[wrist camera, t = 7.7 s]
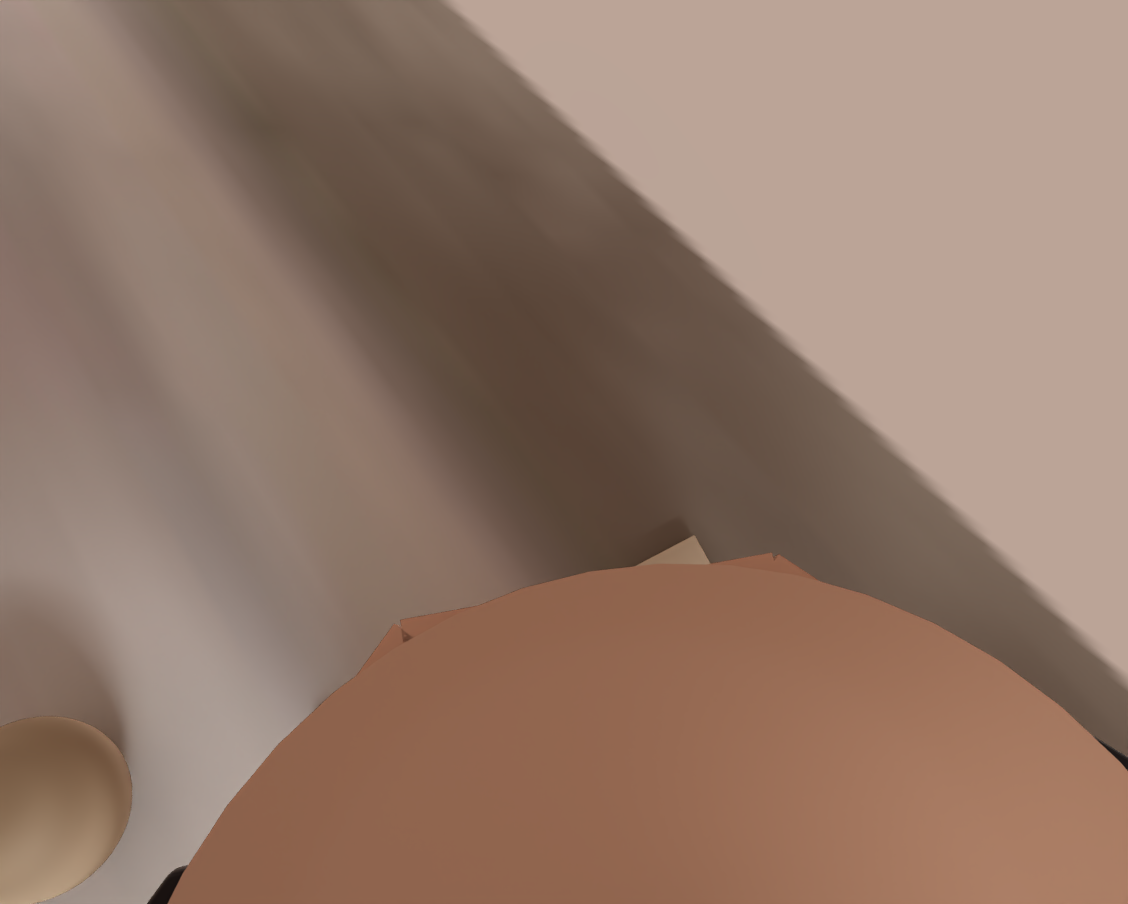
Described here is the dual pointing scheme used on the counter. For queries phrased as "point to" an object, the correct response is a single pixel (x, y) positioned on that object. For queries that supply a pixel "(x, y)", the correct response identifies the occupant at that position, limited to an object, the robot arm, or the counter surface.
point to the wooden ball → (57, 806)
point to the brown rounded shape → (676, 760)
